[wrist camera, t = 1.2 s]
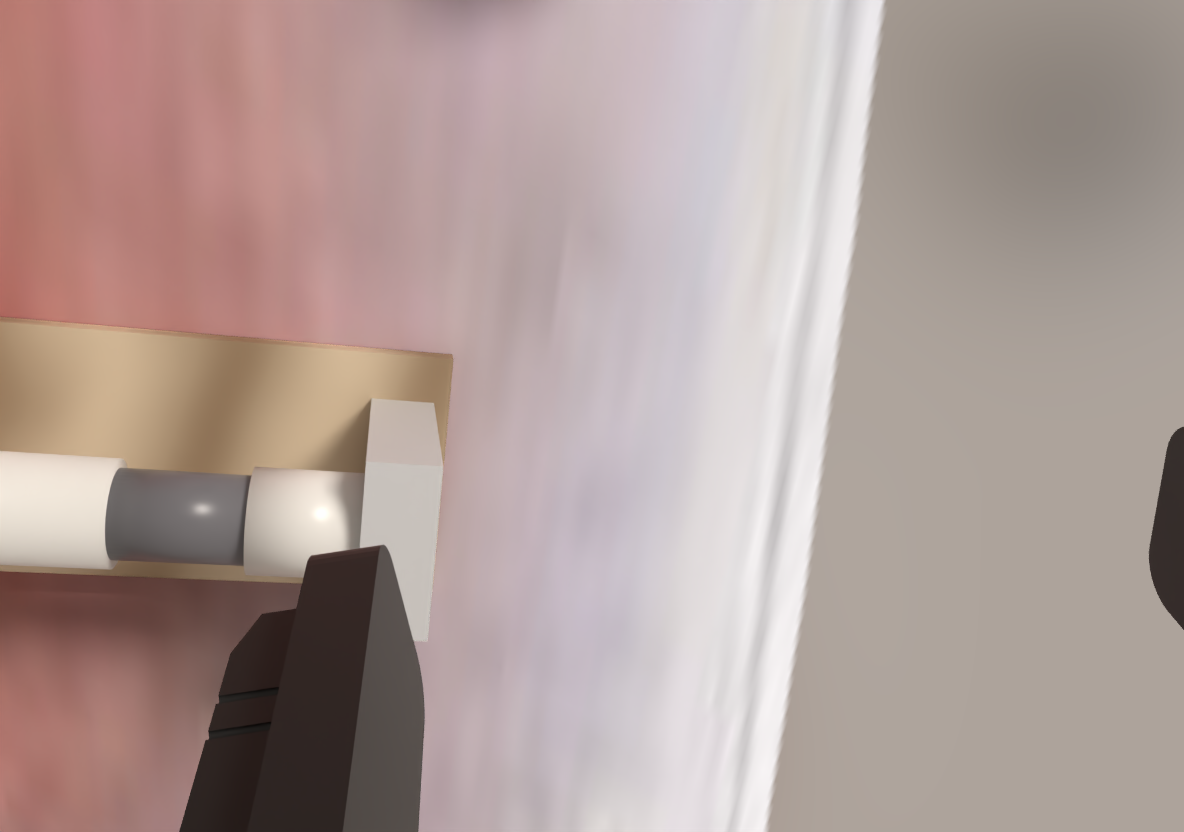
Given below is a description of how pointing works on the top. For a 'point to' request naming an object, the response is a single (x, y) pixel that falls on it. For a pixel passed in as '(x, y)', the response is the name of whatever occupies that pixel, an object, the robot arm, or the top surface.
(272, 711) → the robot arm
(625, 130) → the top surface
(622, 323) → the top surface
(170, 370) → the base board
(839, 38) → the top surface
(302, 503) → the rod
